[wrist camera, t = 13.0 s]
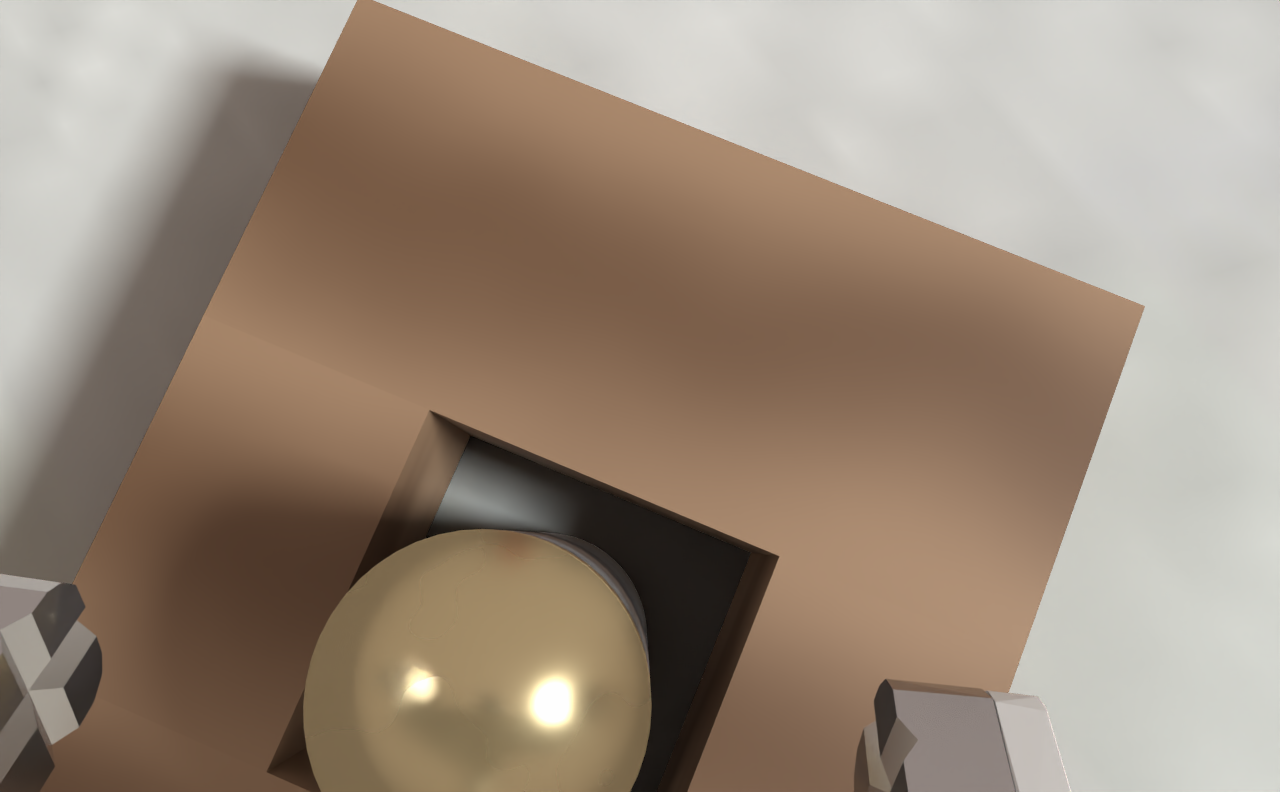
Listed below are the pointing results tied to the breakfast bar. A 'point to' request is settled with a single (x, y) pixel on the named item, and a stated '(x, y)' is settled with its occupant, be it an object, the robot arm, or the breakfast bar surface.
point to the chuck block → (587, 415)
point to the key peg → (482, 671)
